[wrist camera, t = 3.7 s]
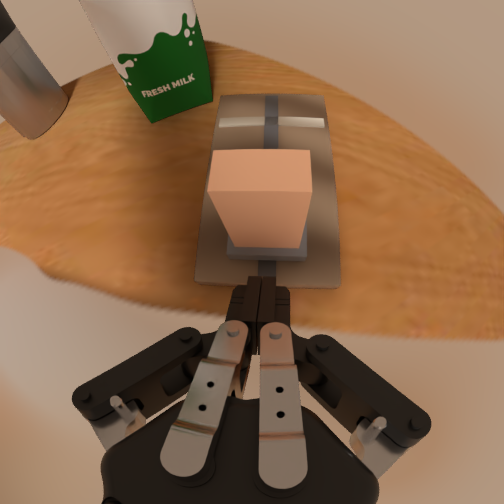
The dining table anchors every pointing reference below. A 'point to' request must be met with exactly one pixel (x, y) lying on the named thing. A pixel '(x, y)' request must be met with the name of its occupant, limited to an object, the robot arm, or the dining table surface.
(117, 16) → the milk carton
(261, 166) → the fader
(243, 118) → the console
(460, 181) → the dining table surface
